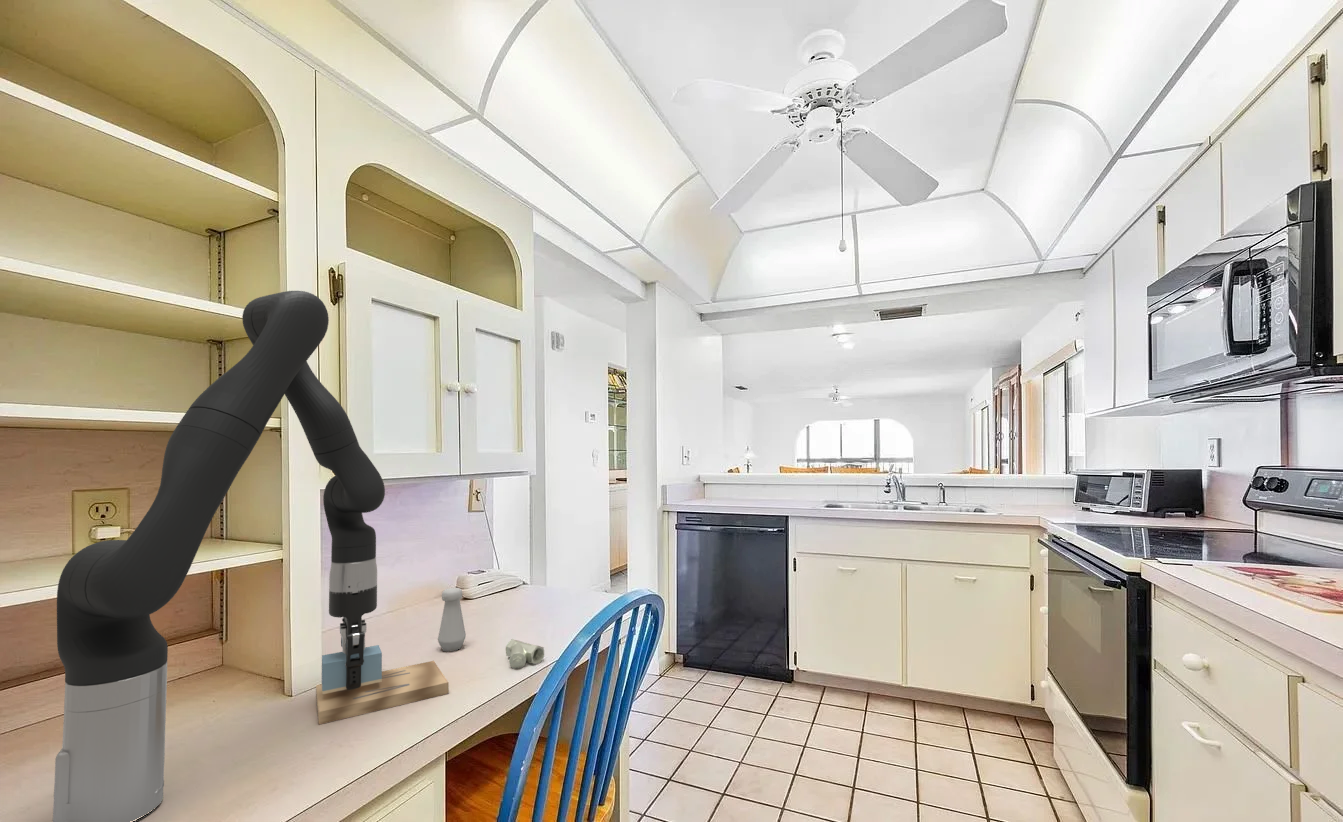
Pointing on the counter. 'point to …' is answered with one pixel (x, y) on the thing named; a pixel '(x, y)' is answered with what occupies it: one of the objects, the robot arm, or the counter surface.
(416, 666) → the oak board
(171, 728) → the counter surface
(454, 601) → the salt shaker
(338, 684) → the block
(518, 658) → the pipe fitting
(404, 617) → the counter surface
